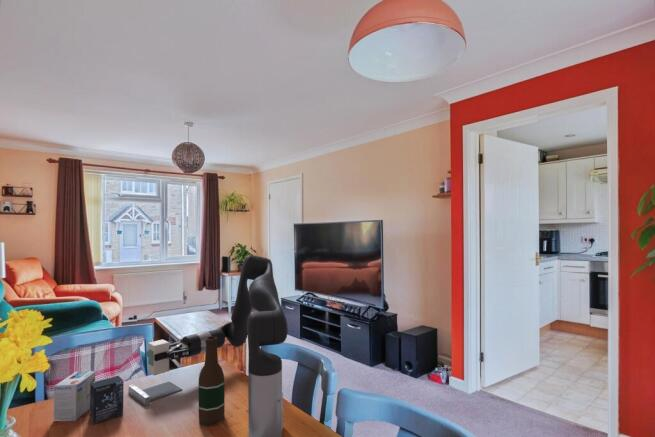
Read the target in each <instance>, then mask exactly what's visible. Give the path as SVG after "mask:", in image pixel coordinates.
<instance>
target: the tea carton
mask: <svg viewBox="0 0 655 437" xmlns="http://www.w3.org/2000/svg"><path fill="white" fill-rule="evenodd" d="M169 342H170V341H167V340H165V339H163V338H162V339H159V340H155V341H150V342H148V343H147V346H148V347H147V348H148V350H147V351H148V356H147V358H148V359H147V360H148V362H147V363H148V364H147V367H148V368H147V372H148V373H149V374H151V375H152V376H158V375H161V374H165V373H167V372H170V359H162V360H159V361H154V355H155V354H158V353H162V352H166V351H168V350H169Z"/></svg>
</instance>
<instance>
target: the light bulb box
mask: <svg viewBox="0 0 655 437" xmlns="http://www.w3.org/2000/svg"><path fill="white" fill-rule="evenodd" d="M91 382H96V371H94V370H90V371H89V370H88V371H74V372H73V373H71V374H70V375H68V376H67V377H65V378H63V380H61V381H60V382H58V383H56V384H55V385H53V421H54V420H59V422H76V421H77V420H78V419H80V417H82V416H83V415H85V413H87V412H88V411H90V383H91ZM60 420H61V421H60ZM64 420H65V421H64Z"/></svg>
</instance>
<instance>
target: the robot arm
mask: <svg viewBox="0 0 655 437" xmlns="http://www.w3.org/2000/svg"><path fill="white" fill-rule="evenodd" d="M248 280H252V282H251V283H250V285H249V287H248ZM253 309H254V310H256V311H252V310H253ZM230 320H231V321H229V322H226V323H224V324H223V325H221V326H220V327H218V328H216V329H213V330H208V331H203V332H201V331H200V332H196V333H193V334H188V335H185V336H183V338H182V339H181V341H180V342H179V341H177V342H176V341H175V342H173V341H172V340H171V341H168V342H169V350H168V351H166V352H162V353H158V354H155V355H154V361H159V360H162V359H169V361H172V360H177V359H182V358H190V357H194V356H197V355H201V354H204V353H206V343H205V340H206V338H208V337H217V340H218V342H217V349H220V348H221V347H223V346H224V345H225V343H226V340H227V341H228V343H229V344H230V345H231V346H233V347H234V348H235V347H236V348H238V347H241V346H242V345H243V344H245V342H246V340H247V346H248V347H247V349H248V364H247V365H248V370H247V371H248V372H247V374H248V376H247V378H248V379H247V380H248V381H247V383H248V384H247V385H248V388H247V389H248V392H247V393H248V398H247V399H248V402H247V403H248V406H247V407H248V409H247V411H248V412H247V413H248V414H247V415H248V419H247V420H248V426H247V429H248V437H283V429H284V428H283V427H284V395H283V394H284V393H283V361H282V358H281V357H280V356H278V354H274V353H271V352H267V351H265V350H263V349H262V348H261V347H264V346H266V347H267V346H276V345H281V344H283V343H285V341H287V336H288V331H289V329H288V321H287V317H286V315H285V312H284V310H283V308H282V305H281V302H280V298H279V293H278V289H277V285H276V283H275V278H274V270H273V264H272V260H270V259H269V258H267V257H263V256H258V255H253V254H248V255H246V256H245V258H244V260H243V262H242V266H241V270H240V276H239V281H238V286H237V293H236V299H235V302H234V306H233V310H232V312H231V315H230ZM146 355H147V357H148V350H147V352H146Z"/></svg>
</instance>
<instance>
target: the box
mask: <svg viewBox="0 0 655 437" xmlns="http://www.w3.org/2000/svg"><path fill="white" fill-rule="evenodd" d="M124 385H125V384H124V379H122V377H120V375H115V376H111V377H107V378H104V379H100V380H95V382H91V383H90V409H89V418H90V420H91V422H92V424H93V425H96V424H98V423H101V422H104V421H108V420H111V419H114V418H118V417H120V416H123V415H124Z"/></svg>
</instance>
